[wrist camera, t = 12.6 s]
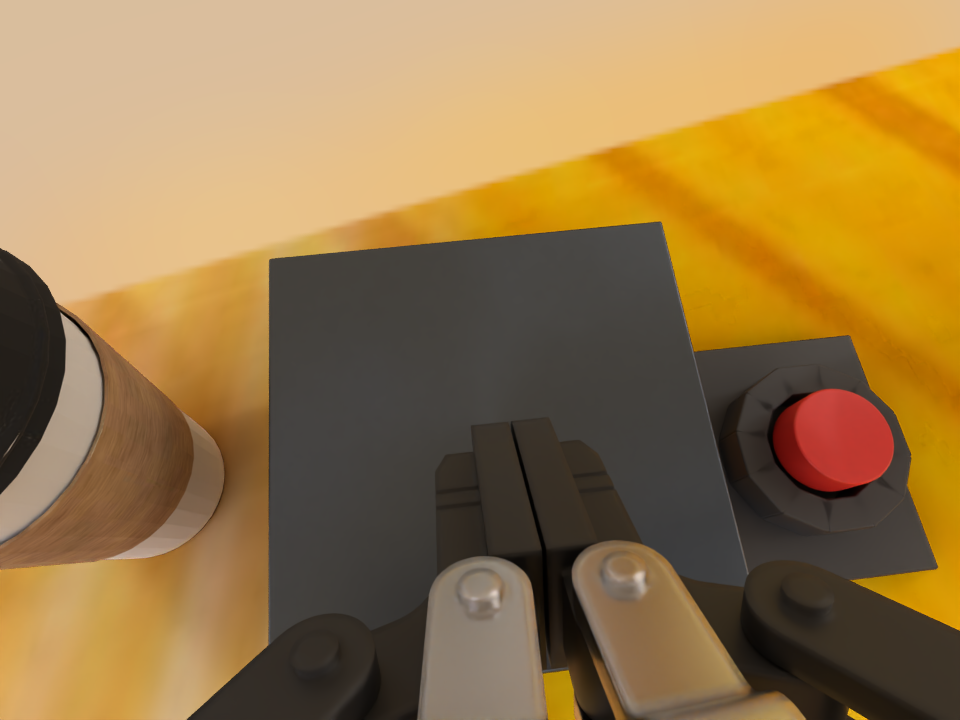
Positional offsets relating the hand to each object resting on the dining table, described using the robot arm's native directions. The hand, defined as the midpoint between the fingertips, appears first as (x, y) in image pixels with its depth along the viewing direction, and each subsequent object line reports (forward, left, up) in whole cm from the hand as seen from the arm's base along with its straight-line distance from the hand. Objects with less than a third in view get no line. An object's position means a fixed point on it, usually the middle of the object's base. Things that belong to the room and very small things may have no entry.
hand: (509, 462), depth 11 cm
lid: (0, -2, -6) cm, 6 cm away
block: (-13, -1, -14) cm, 19 cm away
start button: (-13, -1, -11) cm, 17 cm away
